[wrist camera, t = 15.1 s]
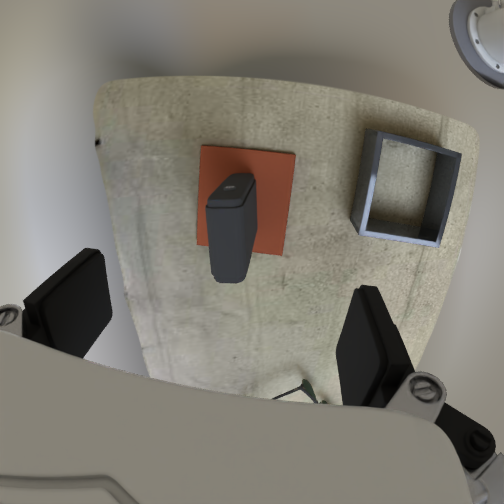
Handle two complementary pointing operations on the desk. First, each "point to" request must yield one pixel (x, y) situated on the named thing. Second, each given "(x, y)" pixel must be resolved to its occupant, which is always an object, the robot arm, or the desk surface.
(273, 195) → the mat
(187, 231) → the desk surface
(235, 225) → the card reader
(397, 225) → the grey open bin
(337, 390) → the desk surface
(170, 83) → the desk surface
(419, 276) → the desk surface
